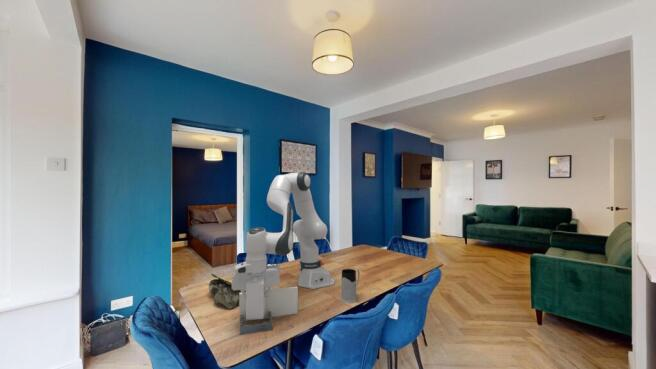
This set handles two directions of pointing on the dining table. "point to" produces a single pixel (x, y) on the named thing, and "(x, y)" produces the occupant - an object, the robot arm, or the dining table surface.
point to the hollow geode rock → (224, 292)
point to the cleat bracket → (256, 326)
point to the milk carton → (255, 298)
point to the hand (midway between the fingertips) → (256, 297)
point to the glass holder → (349, 285)
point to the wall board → (275, 302)
